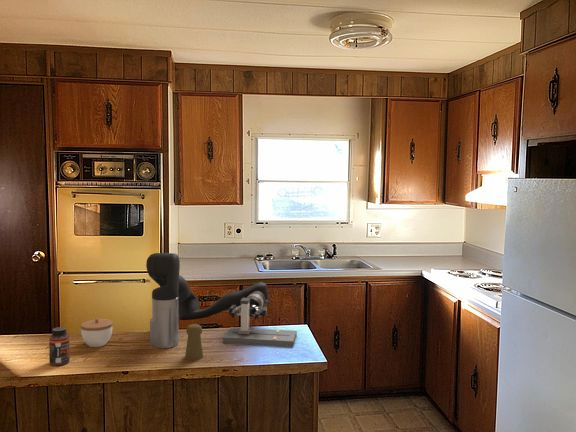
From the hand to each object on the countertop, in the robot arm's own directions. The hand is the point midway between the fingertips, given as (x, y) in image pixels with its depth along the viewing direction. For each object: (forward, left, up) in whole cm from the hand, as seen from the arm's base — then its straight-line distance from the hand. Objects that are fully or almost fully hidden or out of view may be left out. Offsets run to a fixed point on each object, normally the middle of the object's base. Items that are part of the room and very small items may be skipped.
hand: (244, 316), depth 179 cm
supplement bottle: (-54, -32, -9) cm, 63 cm away
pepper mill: (-13, -20, -9) cm, 25 cm away
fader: (0, +1, -7) cm, 7 cm away
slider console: (+6, +1, -9) cm, 11 cm away
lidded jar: (-51, -14, -9) cm, 54 cm away
